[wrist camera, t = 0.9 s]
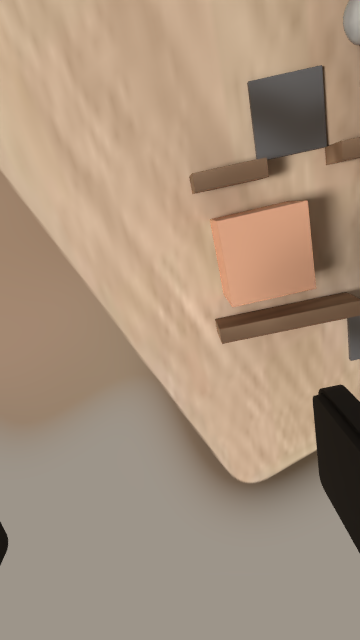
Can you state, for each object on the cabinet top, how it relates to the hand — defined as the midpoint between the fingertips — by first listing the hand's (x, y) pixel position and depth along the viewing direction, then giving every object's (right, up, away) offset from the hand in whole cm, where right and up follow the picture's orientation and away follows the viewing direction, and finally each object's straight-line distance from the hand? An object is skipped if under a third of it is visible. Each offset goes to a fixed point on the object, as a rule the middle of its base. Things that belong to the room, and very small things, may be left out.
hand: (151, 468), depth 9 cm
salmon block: (+7, +10, +18) cm, 21 cm away
